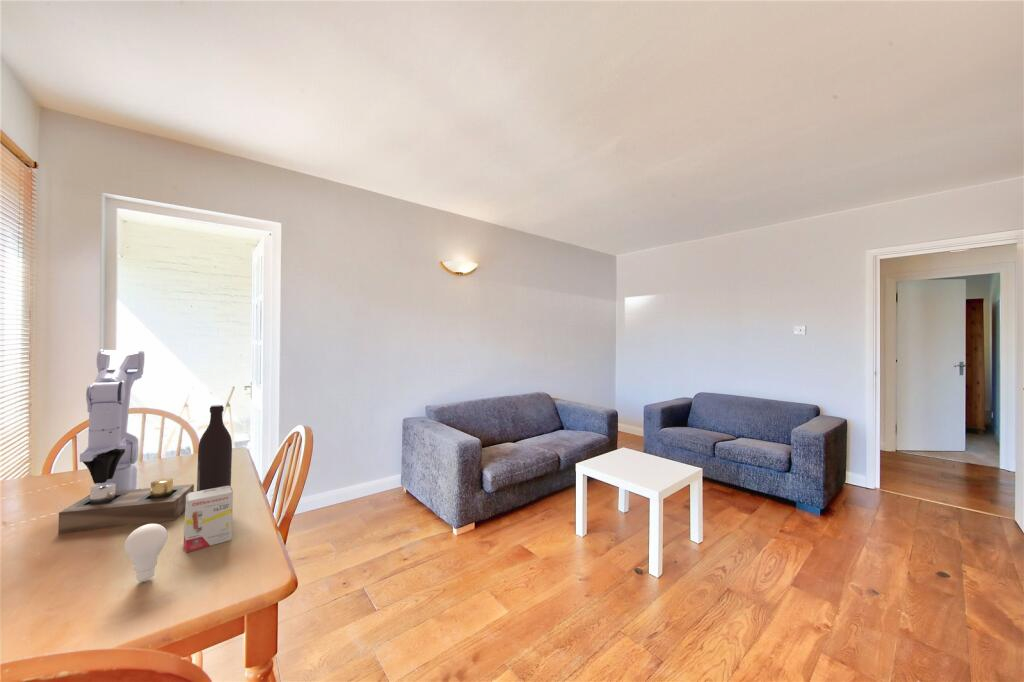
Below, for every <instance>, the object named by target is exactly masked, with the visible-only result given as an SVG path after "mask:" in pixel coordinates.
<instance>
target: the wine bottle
mask: <svg viewBox="0 0 1024 682" xmlns="http://www.w3.org/2000/svg"><path fill="white" fill-rule="evenodd" d="M224 407H225V406H223V404H213V405H210V407H209V413H210V417H209V418H210V419H209V423H208V426H207V427H206V429H205V431H204V432H203V433H202V435H201V437H200V439H199V441H198V450H197V474H196V476H197V477H196V491H202V490H207V489H213V488H218V487H223V486H231V487H232V461H233V459H232V457H233V442H232V440H233V439H232V436H231V434H230V432H229V431H228V429H227V428H226V426H225V424H224V421H223V412H224V409H225V408H224Z"/></svg>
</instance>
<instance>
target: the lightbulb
mask: <svg viewBox="0 0 1024 682" xmlns="http://www.w3.org/2000/svg"><path fill="white" fill-rule="evenodd" d="M168 536H169V534H168V530H167V529H166V528H165V527H164V526H163V525H162V524H158V523H145V524H142V525H141V526H139V527H137V528H136V529H134V530H133V531H132V532H130V534H129V535H128V536H127V538H126V539H125V542H124V551H125V554H127V557H129V558H130V559H131V560H132V562H133V565H134V571H135V574H136V581H138V582H142V583H146V582H148V581H149V580H150V579H151V578H153V577H154V576H155V572H156V571H155V570H156V566H157V564H158V558H159V556H160V553H161V552H162V550H163V548H164V547H165V545H166V544H167V541H168Z"/></svg>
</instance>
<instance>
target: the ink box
mask: <svg viewBox="0 0 1024 682" xmlns="http://www.w3.org/2000/svg"><path fill="white" fill-rule="evenodd" d="M233 491H234V489H233V488H232V485H231V486H223V487H218V488H213V489H207V490H202V491H197V490H196V491H194V492H191V493H188V494H187V495H186V506H185V510H184V528H183V529H184V530H183V547H184V552H185V553H190V552H193V551H196V549H197V550H200V549H203V548H207V547H210V546H211V547H212V546H214V545H218V544H221V543H225V542H228V541H231V540H232V538H233V537H232V534H233V533H232V532H233V508H234V507H233V505H234V504H233V502H234V501H233V500H234V496H233V495H234V492H233Z"/></svg>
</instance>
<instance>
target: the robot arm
mask: <svg viewBox="0 0 1024 682" xmlns="http://www.w3.org/2000/svg"><path fill="white" fill-rule="evenodd" d="M144 367H145V351H144V350H142V349H138V350H137V349H135V350H134V349H130V350H129V349H124V350H122V349H115V350H114V349H100V350H98V351H97V355H96V368H97V371H98V373H97V376H96V378H95V380H94V382H92V384H88V385H87V388H86V391H85V400H86V405H87V410H86V411H87V413H88V436H87V437H88V439H87V440H88V442H87V444H88V445H87V447H85V449H84V451H82V453H80V454H79V462H80V463H83V464H84V465H85V467H87V469H88V471H89V474H90V476H91V478H92V479H91V480H92V482H93V484H94V486H96V485H100V484H106V483H115V484H116V488H115V491H121V490H133V489H141V487H137V478H138V475H137V474H138V473H137V472H138V469H137V467H136V465H135V464H136V463H137V462H138V460H139V452H140V451H139V450H140V449H139V447H140V446H139V438H138V437H137V436H136V435H133V434H131V433H130V432H128V423H129V411H130V401H131V392H132V391H131V390H132V387H133V384H134V382H135V381H137V380H140V379H142V377H143V375H144Z"/></svg>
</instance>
